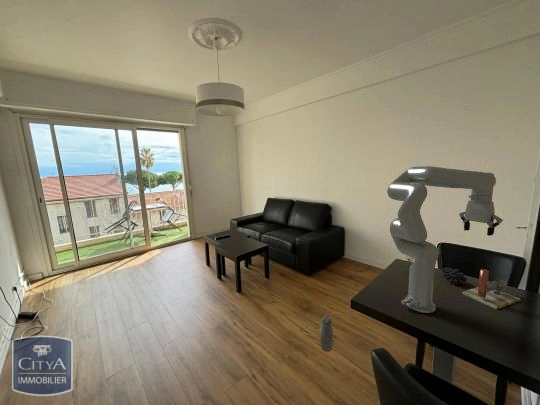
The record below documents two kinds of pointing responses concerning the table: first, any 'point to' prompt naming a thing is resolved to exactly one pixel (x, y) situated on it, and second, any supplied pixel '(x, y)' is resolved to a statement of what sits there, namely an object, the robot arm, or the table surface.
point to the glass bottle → (326, 334)
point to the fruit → (454, 276)
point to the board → (492, 298)
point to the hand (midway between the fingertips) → (477, 232)
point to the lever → (485, 288)
